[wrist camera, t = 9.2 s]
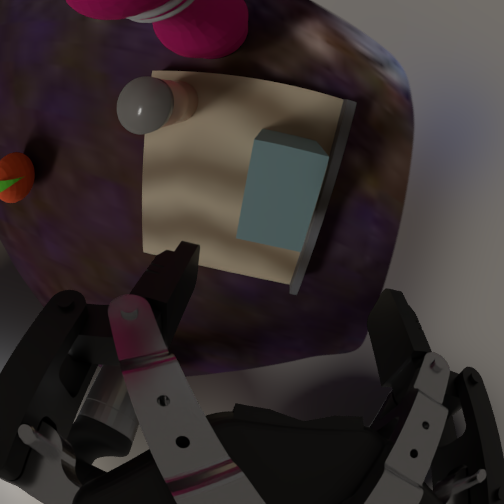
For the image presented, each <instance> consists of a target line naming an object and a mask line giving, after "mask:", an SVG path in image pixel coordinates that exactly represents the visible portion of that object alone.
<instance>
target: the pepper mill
mask: <svg viewBox="0 0 504 504" xmlns="http://www.w3.org/2000/svg"><path fill="white" fill-rule="evenodd" d="M66 1H67V3H68V4H69V6H70V7H72V8H73V9H74V10H76V11H77V12H78V13H80V14H82V15H84V16H87V17H91V18H94V19H100V20H119V19H123V18H128V19H130V20H132V21H136V22H141V23H153V28H154V31H155V33H156V35H157V37H158V38H159V40H160V41H161V42H162V44H163V45H164V46H166V47H167V48H168V49H170V50H171V51H173V52H175V53H176V54H178V55H181V56H184V57H191V58H205V59H216V58H221V57H224V56H227V55H229V54H231V53H233V52H234V51H236V50H237V49H238V48H239V47H240V46H241V45H242V44H243V42H244V41H245V39H246V37H247V33H248V8H247V6H246V3H245V1H244V0H66Z"/></svg>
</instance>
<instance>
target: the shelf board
mask: <svg viewBox="0 0 504 504" xmlns="http://www.w3.org/2000/svg"><path fill="white" fill-rule="evenodd" d="M152 77H155V78H159V79H164V80H173V81H181V82H186V83H188V84H190V85H191V86H193V88H194V89H195V90H196V92H197V95H198V107H197V109H196V111H195V113H194V114H193V115H192V116H191V117H190V118H189V119H188V120H186V121H183V122H180V123H176V124H173V125H169V126H166V127H162V128H160V129H158V130H156V131H154V132H150V133H147V134H145V141H144V157H143V182H142V228H143V252H145V253H150V254H154V255H158V254H160V253H162V252H163V251H165V250H170V251H175V250H176V248H177V247H178V245H179V244H180V242H181V241H186V242H190V243H194V244H199V245H200V255H199V263H198V265H201V266H206V267H210V268H215V269H219V270H224V271H228V272H233V273H237V274H242V275H247V276H251V277H256V278H261V279H266V280H271V281H275V282H280V283H285V284H290V294H294V295H297V293H298V290H299V288H300V285H301V282H302V280H303V277H304V274H305V271H306V269H307V266H308V263H309V260H310V257H311V255H312V252H313V249H314V246H315V243H316V240H317V237H318V234H319V231H320V228H321V225H322V222H323V219H324V216H325V213H326V210H327V207H328V204H329V200H330V197H331V194H332V191H333V187H334V184H335V181H336V178H337V174H338V171H339V167H340V164H341V160H342V157H343V153H344V150H345V146H346V143H347V139H348V135H349V131H350V128H351V124H352V120H353V116H354V112H355V108H356V104H357V102H354V101H351V100H348V99H340V98H337V97H334V96H330V95H327V94H323V93H320V92H316V91H312V90H308V89H304V88H300V87H296V86H291V85H287V84H282V83H277V82H272V81H266V80H261V79H255V78H248V77H241V76H234V75H225V74H216V73H204V72H188V71H152ZM262 129H267V130H272V131H277V132H281V133H286V134H290V135H294V136H298V137H303V138H307V139H310V140H314V141H317V142H318V143H319V145H320V146H321V147H322V148H323V150H324V151H325V152H326V153H327V155H328V156H329V160H328V165H327V169H326V172H325V176H324V179H323V183H322V186H321V190H320V193H319V196H318V200H317V203H316V206H315V210H314V213H313V216H312V219H311V223H310V226H309V229H308V232H307V235H306V239H305V242H304V244H303V247H302V250H301V252H297V251H293V250H288V249H284V248H279V247H274V246H270V245H265V244H260V243H256V242H251V241H246V240H242V239H237V238H236V235H237V229H238V223H239V218H240V212H241V207H242V201H243V196H244V190H245V185H246V180H247V174H248V169H249V164H250V158H251V153H252V148H253V143H254V139H255V138H256V136H257V135H258V134H259V132H260V131H261V130H262Z"/></svg>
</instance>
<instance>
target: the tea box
mask: <svg viewBox="0 0 504 504" xmlns="http://www.w3.org/2000/svg"><path fill="white" fill-rule="evenodd" d="M328 160H329V156H328V155H327V153H326V152H325V151H324V150H323V148H322V147H321V146H320V145H319V143H318V142H317V141H314V140H310V139H307V138H303V137H298V136H294V135H290V134H286V133H281V132H277V131H272V130H267V129H262V130H261V131H260V132H259V134H258V135H257V136H256V138H255V139H254V143H253V148H252V153H251V158H250V164H249V169H248V174H247V180H246V185H245V190H244V196H243V201H242V207H241V212H240V218H239V223H238V229H237V235H236V238H237V239H242V240H246V241H251V242H256V243H260V244H265V245H270V246H274V247H279V248H284V249H288V250H293V251H297V252H301V250H302V247H303V244H304V242H305V239H306V235H307V232H308V229H309V226H310V223H311V219H312V216H313V213H314V210H315V206H316V203H317V200H318V196H319V193H320V190H321V186H322V183H323V179H324V176H325V172H326V169H327V165H328Z"/></svg>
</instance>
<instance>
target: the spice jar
mask: <svg viewBox="0 0 504 504" xmlns="http://www.w3.org/2000/svg"><path fill="white" fill-rule="evenodd" d="M197 107H198V95H197V92H196V90H195V89H194V88H193V86H191V85H190V84H188V83H186V82H181V81H173V80H164V79H159V78H155V77H139V78H136V79H134V80H132V81H131V82H129V83H128V84H127V85H126V86H125V87H124V89H123V90H122V91H121V93H120V96H119V98H118V102H117V114H118V118H119V120H120V122H121V124H122V125H123V126H124V128H126V129H127V130H128V131H130V132H132V133H135V134H147V133H150V132H154V131H156V130H158V129H160V128H162V127H166V126H169V125H173V124H176V123H180V122H183V121H186V120H188V119H189V118H190V117H191V116H192V115H193V114H194V113H195V111H196V109H197Z"/></svg>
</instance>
